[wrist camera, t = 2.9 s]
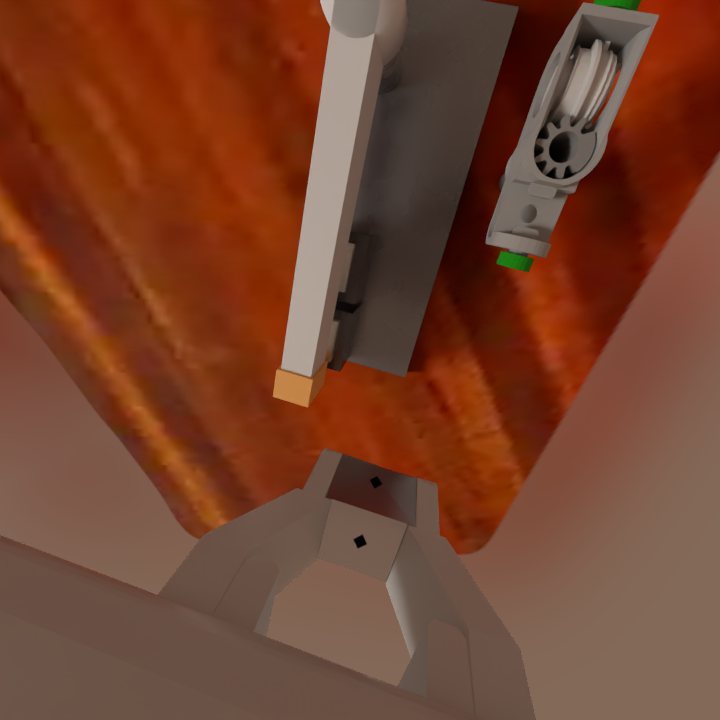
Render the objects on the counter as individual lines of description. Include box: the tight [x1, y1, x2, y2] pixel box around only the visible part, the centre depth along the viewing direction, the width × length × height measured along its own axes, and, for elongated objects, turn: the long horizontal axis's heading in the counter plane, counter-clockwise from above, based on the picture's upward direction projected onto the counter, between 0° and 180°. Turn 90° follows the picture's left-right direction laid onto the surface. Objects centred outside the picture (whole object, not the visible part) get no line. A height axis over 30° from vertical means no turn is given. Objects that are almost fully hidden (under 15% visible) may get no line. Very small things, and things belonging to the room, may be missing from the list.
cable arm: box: [273, 0, 408, 407], centre depth 19 cm, size 22×4×3 cm, turn 167°
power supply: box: [337, 230, 377, 304], centre depth 24 cm, size 5×4×4 cm
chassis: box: [347, 0, 519, 377], centre depth 22 cm, size 24×9×6 cm, turn 167°
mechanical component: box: [486, 0, 659, 272], centre depth 18 cm, size 3×10×10 cm, turn 167°
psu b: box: [325, 300, 361, 372], centre depth 26 cm, size 5×4×4 cm
